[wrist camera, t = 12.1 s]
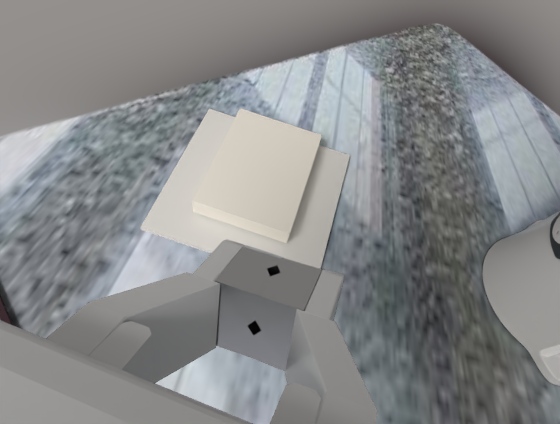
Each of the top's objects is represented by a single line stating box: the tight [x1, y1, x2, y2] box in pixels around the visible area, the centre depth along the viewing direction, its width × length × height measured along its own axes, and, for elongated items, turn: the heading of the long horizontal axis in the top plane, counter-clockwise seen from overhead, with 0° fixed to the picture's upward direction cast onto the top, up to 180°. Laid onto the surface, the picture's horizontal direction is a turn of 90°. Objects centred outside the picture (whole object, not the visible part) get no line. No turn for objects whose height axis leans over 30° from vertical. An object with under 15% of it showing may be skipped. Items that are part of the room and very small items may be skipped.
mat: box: [141, 109, 350, 269], centre depth 45 cm, size 18×18×1 cm
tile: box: [192, 108, 322, 243], centre depth 45 cm, size 10×2×14 cm
